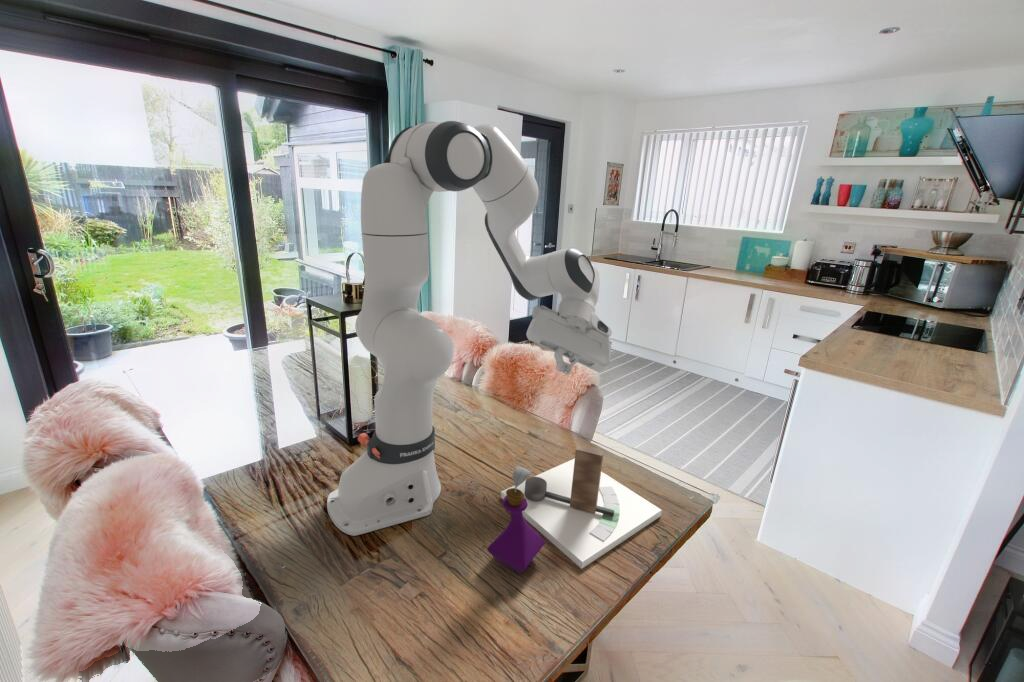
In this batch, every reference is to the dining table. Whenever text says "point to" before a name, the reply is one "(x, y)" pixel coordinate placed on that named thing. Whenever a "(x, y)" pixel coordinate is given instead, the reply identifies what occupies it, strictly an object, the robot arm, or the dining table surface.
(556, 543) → the dial board
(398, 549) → the dining table surface
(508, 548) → the perfume bottle
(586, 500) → the lever
